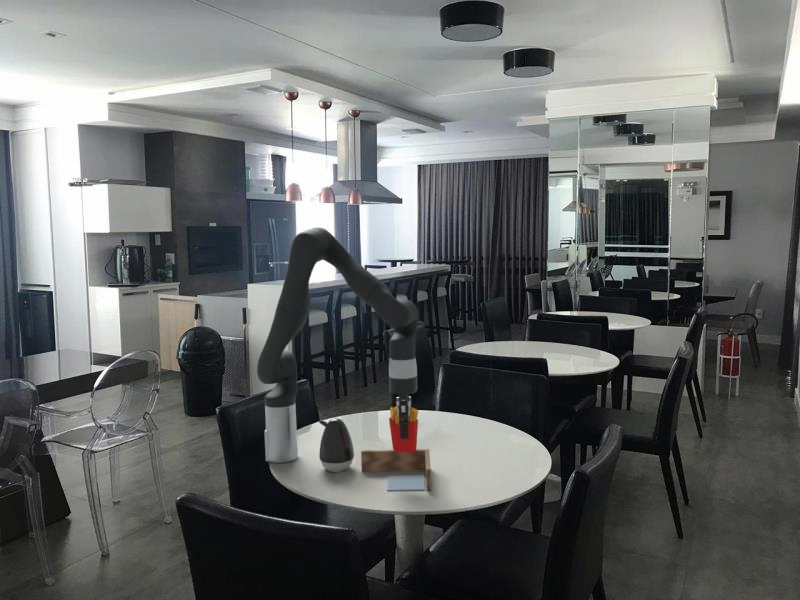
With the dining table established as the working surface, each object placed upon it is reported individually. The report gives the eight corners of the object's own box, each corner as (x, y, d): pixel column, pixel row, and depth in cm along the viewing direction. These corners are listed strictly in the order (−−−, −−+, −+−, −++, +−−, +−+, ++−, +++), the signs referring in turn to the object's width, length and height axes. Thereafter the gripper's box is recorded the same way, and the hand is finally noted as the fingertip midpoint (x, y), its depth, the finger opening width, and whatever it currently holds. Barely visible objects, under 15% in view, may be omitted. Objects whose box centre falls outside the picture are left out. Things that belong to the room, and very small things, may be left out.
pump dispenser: (329, 461, 201) (327, 412, 199) (360, 464, 197) (358, 415, 195) (312, 473, 191) (310, 422, 189) (345, 477, 187) (343, 425, 186)
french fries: (388, 450, 181) (386, 407, 179) (395, 445, 184) (393, 403, 183) (415, 454, 177) (414, 411, 175) (422, 449, 180) (421, 407, 179)
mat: (387, 491, 177) (387, 489, 177) (388, 476, 187) (388, 475, 187) (424, 490, 177) (424, 489, 176) (424, 476, 186) (424, 475, 186)
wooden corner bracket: (357, 492, 176) (356, 470, 176) (362, 470, 192) (361, 450, 192) (431, 491, 176) (430, 469, 175) (429, 468, 192) (429, 448, 191)
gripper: (417, 380, 171) (418, 444, 173) (416, 368, 185) (418, 427, 187) (388, 380, 171) (389, 444, 173) (390, 368, 185) (391, 427, 187)
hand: (404, 435), depth 180 cm, fingers closed on french fries, 4 cm apart
